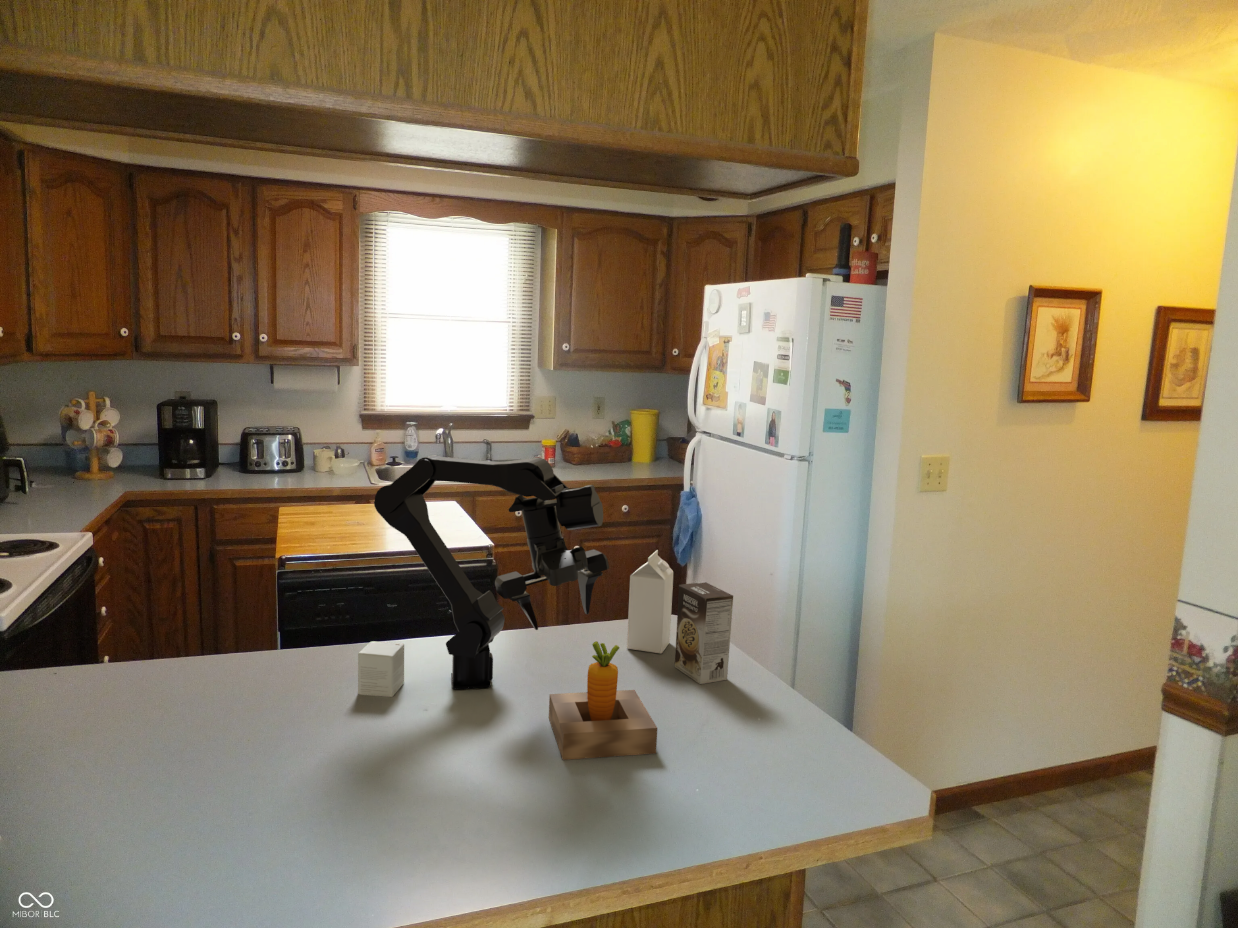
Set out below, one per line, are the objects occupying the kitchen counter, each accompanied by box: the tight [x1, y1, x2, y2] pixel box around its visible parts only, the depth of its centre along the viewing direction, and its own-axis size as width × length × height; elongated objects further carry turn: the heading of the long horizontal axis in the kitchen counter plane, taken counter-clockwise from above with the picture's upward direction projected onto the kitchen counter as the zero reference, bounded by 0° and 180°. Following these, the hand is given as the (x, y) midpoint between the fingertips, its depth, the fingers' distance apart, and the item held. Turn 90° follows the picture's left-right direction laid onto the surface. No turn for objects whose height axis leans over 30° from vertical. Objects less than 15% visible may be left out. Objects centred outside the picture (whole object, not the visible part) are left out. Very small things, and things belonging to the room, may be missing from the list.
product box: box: [357, 640, 405, 698], centre depth 145 cm, size 6×6×7 cm
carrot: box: [586, 641, 620, 721], centre depth 131 cm, size 5×5×15 cm
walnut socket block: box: [548, 689, 658, 761], centre depth 132 cm, size 14×14×4 cm
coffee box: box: [674, 582, 734, 685], centre depth 157 cm, size 9×6×16 cm
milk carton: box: [626, 549, 674, 654], centre depth 170 cm, size 7×7×19 cm
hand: (561, 621), depth 145 cm, fingers open, 9 cm apart
